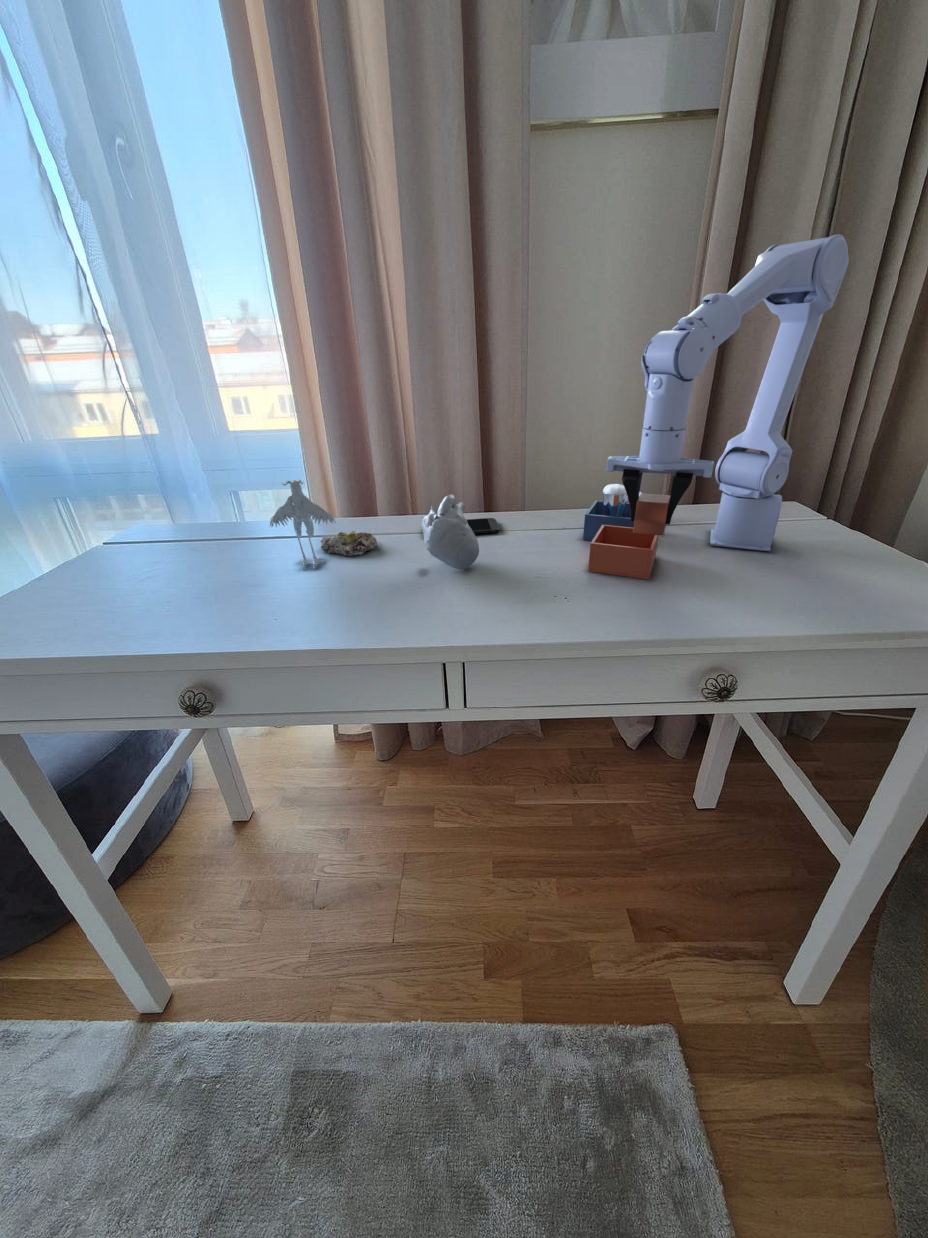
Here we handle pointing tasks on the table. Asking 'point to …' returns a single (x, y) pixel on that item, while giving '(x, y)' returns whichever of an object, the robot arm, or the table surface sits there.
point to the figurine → (301, 515)
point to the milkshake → (614, 500)
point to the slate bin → (603, 520)
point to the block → (651, 514)
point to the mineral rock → (349, 543)
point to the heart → (450, 534)
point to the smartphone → (483, 525)
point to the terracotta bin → (622, 552)
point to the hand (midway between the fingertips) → (650, 520)
